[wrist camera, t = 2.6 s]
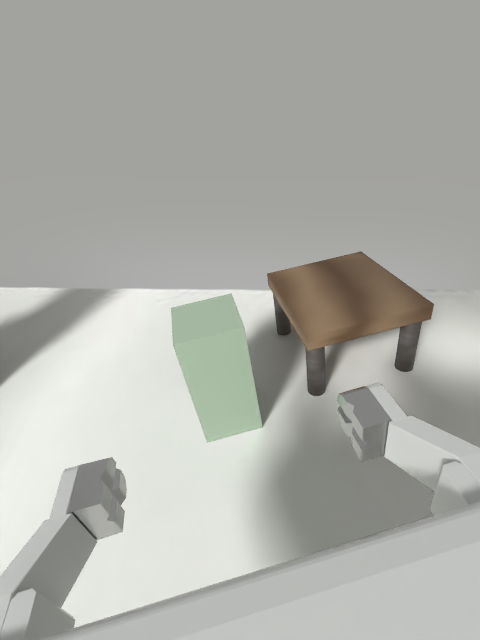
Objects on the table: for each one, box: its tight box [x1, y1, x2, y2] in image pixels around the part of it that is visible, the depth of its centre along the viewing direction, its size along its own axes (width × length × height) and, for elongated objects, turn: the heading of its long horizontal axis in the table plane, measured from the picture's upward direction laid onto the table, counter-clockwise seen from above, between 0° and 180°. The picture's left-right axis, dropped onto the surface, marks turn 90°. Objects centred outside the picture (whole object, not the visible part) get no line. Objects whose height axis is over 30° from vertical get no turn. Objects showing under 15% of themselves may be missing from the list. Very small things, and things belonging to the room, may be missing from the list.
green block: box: [171, 294, 263, 442], centre depth 28 cm, size 5×5×11 cm
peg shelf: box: [267, 252, 434, 396], centre depth 34 cm, size 11×12×8 cm
